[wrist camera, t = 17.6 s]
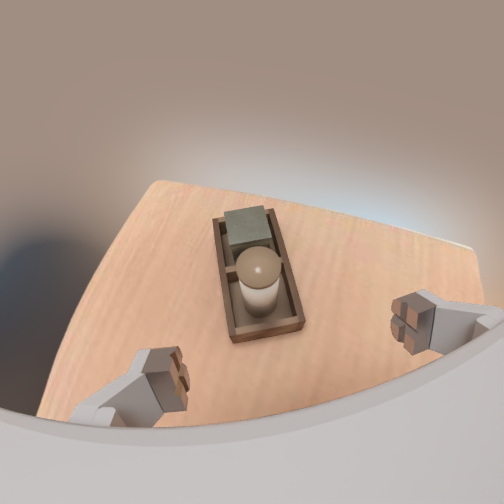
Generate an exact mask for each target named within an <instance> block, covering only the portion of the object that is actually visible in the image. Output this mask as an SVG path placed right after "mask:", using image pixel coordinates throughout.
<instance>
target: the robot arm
mask: <svg viewBox="0 0 504 504" xmlns="http://www.w3.org/2000/svg"><path fill="white" fill-rule="evenodd" d="M391 311H392V312H393V313H394V316H393V317H392V319H391V332H392V335H393V337H394V338H395V339H396V340H397V341H398V342H402V343H404V348H405V349H406V350H407V351H408V352H409V353H410V354H411V355H415V354H417V353H420V352H422V351H425V350H427V349H429V350H432V351H435V352H438V353H440V354H443V355H444V356H442V357H440V358H438V359H436V360H434V361H432V362H430V363H428V364H426V365H424V366H422V367H420V368H418V369H415V370H413V371H411V372H409V373H406V374H404V375H402V376H399V377H397V378H394V379H392V380H389V381H387V382H384V383H382V384H379V385H377V386H374V387H371V388H368V389H366V390H363V391H360V392H357V393H354V394H351V395H348V396H345V397H341V398H338V399H335V400H331V401H328V402H325V403H321V404H317V405H314V406H310V407H306V408H302V409H298V410H293V411H289V412H284V413H280V414H275V415H270V416H264V417H259V418H253V419H247V420H240V421H233V422H226V423H217V424H208V425H197V426H182V427H153V426H154V425H155V423H156V422H157V421H158V420H159V419H160V418H161V417H162V415H163V414H164V413H167V412H178V411H187V404H188V396H187V394H186V393H187V392H188V391H189V389H190V378H189V373H188V370H187V367H186V365H184V364H183V363H182V357H183V356H182V353H181V350H180V348H179V347H178V346H173V347H163V348H153V349H151V348H150V349H142V350H138V352H137V354H136V356H135V358H134V360H133V362H132V364H131V366H130V369H129V371H128V373H127V374H123V375H122V376H120V377H119V378H117V379H116V380H114V381H113V382H111V383H110V384H108V385H107V386H105V387H104V388H102V389H100V390H99V391H97V392H96V393H94V394H93V395H91V396H90V397H88V398H87V399H85V400H84V401H82V402H81V403H79V404H77V406H76V408H75V410H74V412H73V413H72V415H71V417H70V419H69V421H68V422H63V421H56V420H50V419H45V418H40V417H34V416H30V415H25V414H21V413H17V412H13V411H10V410H6V409H3V408H0V504H504V310H502V309H500V308H498V307H496V306H487V305H478V304H470V303H461V302H453V301H449V302H446V301H445V300H443V299H441V298H439V297H438V296H436V295H434V294H432V293H431V292H429V291H427V290H425V289H422V290H419V291H417V292H414V293H411V294H409V295H406V296H403V297H400V298H397V299H395V300H393V302H392V307H391ZM152 427H153V428H152Z"/></svg>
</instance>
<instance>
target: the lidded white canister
mask: <svg viewBox="0 0 504 504" xmlns="http://www.w3.org/2000/svg"><path fill="white" fill-rule="evenodd" d="M236 272H237V276H238V278H239V283H240V287H241V292H242V297H243V302H244V306H245V309H246V311H247V312H248V313H249V314H250V315H251V316H253V317H256V318H265V317H267V316H269V315H271V314H272V313H273V312H274V310H275V308H276V304H277V295H278V286H279V276H280V273H281V261H280V258H279V257H278V255H277V254H276V253H275V252H274V251H273V250H271V249H269V248H266V247H262V246H256V247H251V248H248V249H246V250H245V251H243V252H242V253H241V254H240V256H239V257H238V259H237V262H236Z"/></svg>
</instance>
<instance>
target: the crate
mask: <svg viewBox="0 0 504 504" xmlns="http://www.w3.org/2000/svg"><path fill="white" fill-rule="evenodd" d="M265 214H266V217H267V221H268V224H269V228H270V232H271V235H272V240H271V241H270V249H271V250H273V251H274V252H275V253H276V254H277V255H278V257H279V258H280V261H281V273H280V276H279V286H278V295H277V304H276V308H275V310H274V312H273V313H272V314H271V315H269V316H267V317H265V318H256V317H253V316H251V315H250V314H249V313H248V312H247V311H246V309H245V306H244V302H243V297H242V292H241V287H240V283H239V278H238V276H237V272H236V265H235V264H234V259H233V254H232V249H231V248H230V246H229V240H228V234H227V228H226V222H225V217H221V218H215V219H212V220H213V228H214V236H215V243H216V251H217V258H218V265H219V272H220V279H221V286H222V293H223V299H224V306H225V312H226V319H227V325H228V331H229V336H230V338H231V340H232V342H233V343H239V342H245V341H250V340H256V339H261V338H266V337H271V336H276V335H281V334H285V333H290V332H295V331H299V330H302V328H303V325H304V323H305V321H306V320H305V317H304V313H303V309H302V305H301V302H300V298H299V294H298V291H297V287H296V284H295V280H294V277H293V273H292V269H291V266H290V262H289V259H288V255H287V252H286V249H285V245H284V242H283V238H282V235H281V232H280V228H279V225H278V222H277V218H276V215H275V212H274V208H273V209H267V210H265Z"/></svg>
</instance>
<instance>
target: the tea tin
mask: <svg viewBox="0 0 504 504" xmlns="http://www.w3.org/2000/svg"><path fill="white" fill-rule="evenodd" d="M224 216H225V222H226V228H227V234H228V240H229V246H230V248H231V249H232V254H233V259H234V264H235V265H236V262H237V259H238V257H239V256H240V254H241V253H242V252H243V251H245V250H246V249H248V248H251V247H256V246H262V247H266V248H269V249H270V241H271V240H272V235H271V232H270V228H269V224H268V221H267V217H266V214H265V210H264V206H263V205H262V206H256V207H250V208H244V209H239V210H233V211H227V212H224Z"/></svg>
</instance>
